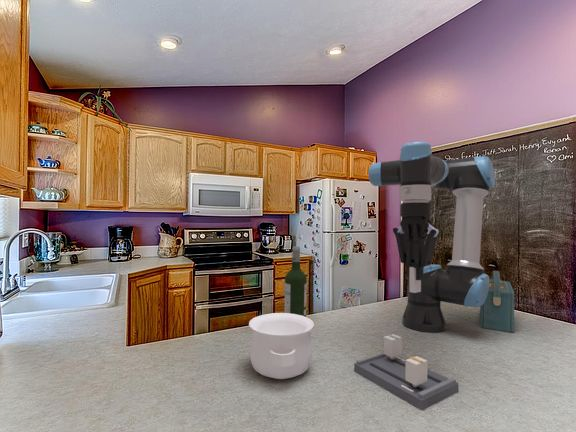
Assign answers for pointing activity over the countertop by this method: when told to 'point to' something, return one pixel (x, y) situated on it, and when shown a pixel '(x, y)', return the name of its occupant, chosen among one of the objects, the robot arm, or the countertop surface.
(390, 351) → the fader high
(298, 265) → the wine bottle
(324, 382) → the countertop surface
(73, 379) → the countertop surface
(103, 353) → the countertop surface
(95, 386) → the countertop surface
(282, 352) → the pot
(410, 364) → the fader low
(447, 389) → the console
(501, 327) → the teal lunch box
